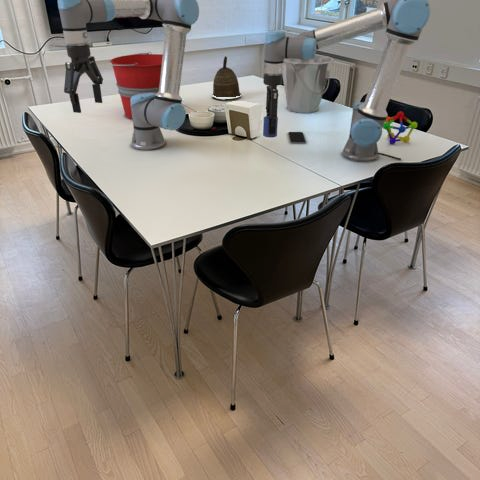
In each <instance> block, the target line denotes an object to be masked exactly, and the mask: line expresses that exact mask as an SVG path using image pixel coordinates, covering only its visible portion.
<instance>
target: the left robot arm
mask: <svg viewBox="0 0 480 480" xmlns="http://www.w3.org/2000/svg"><path fill="white" fill-rule="evenodd" d="M57 8H58V11H59V12H58V13H59V16H60V21H61V27H62V33H63V38H64V43H65V44H66V47H65V48H66V54H67V56H68V58H70V61H69V62H68V61H65V63H64V64H65V65H64V66H65V77H64V88H63V92H64V94H69V99H70V103H71V107H72V112H73V113H77V114H81V113H82V109H81V103H80V98H79V93H77V92H78V91H77V90H78V86H79V82H80V78H81V77H82V75H84V74H85V73H86V75H87V76H88V78H89V80H90V81H91V82H92V83H93V84H91V87H92V93H93V98H94V103H96V104H102V103H103V96H102V88H101V85H103V81H104V78H103V76H102V73H101V71H100V69H99V67H98V65H97V63H96V57H95V56H93V55H91V54H92V53H91V47H90V44H88V43H89V36H88V30H87V24H92V23H93V24H95V23H106V22H110V21H113V20H114V19H115V18H133V17H134V18H135V17H138V18H140V19H141V20H154V21H159V22H161V23H162V24H161V25H162V27H163V28H164V30H165V32H164V41H163V47H162V48H163V49H162V55H163V57H162V67H161V76H160V85H159V91H158V92H157V93H156V94H155V93H143V94H137V95H134V96H132V97H131V105H130V106H131V111H132V119H133V120H132V119H131V120H132V125H133V132H132V135H131V142H130V143H131V147H132V148H134V149H135V150H141V151H151V150H153V151H154V150H157V149H161V148H163V147H164V146H165V144H166V140H165V137H164V135H163V132H162V130H161V129H163V130H164V131H165V130H166V131H167V130H168V131H176V130H178V129H179V128H180V127H182V125H183V124H184V122H185V120H186V116H187V115H186V114H187V111H186V108H185V106H184V105H183V104H182V103H183V98H182V97H181V96H180V89H181V81H182V74H183V65H184V59H185V58H184V57H185V49H186V48H185V47H186V41H187V35H188V34H189V33H190V32H191V30H192V25H194V24H195V23H197V21H198V20H199V16H200V6H199V2H198V1H197V0H57Z"/></svg>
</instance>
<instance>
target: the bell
mask: <svg viewBox="0 0 480 480" xmlns="http://www.w3.org/2000/svg"><path fill="white" fill-rule="evenodd" d="M227 63H228V57H227V56H224V58H223V63H222V67H221V68H219V69H218V70H217V71H216V73H215V75H214V78H213V81H212V83H213V84H212V95H214V96H216V97H236V96H240V95H241V96H242V93H241V92H240V83H239V80H238V79H239V78H238V77H237V75H236V73H235V72H234V70H232V69H231V68H230V67H227Z"/></svg>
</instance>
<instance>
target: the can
mask: <svg viewBox="0 0 480 480" xmlns="http://www.w3.org/2000/svg"><path fill="white" fill-rule="evenodd" d="M268 117H270V116H266V115H265V116H264V117H263V124H262V125H263V129H262V131H263V132H262V136H263V137H264V138H269V139H270V138H271V139H272V138H276V137H278V127H279V126H278V123H279V117H278V116H277V118H276V126H275V134H268V130H269V119H268Z"/></svg>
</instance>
